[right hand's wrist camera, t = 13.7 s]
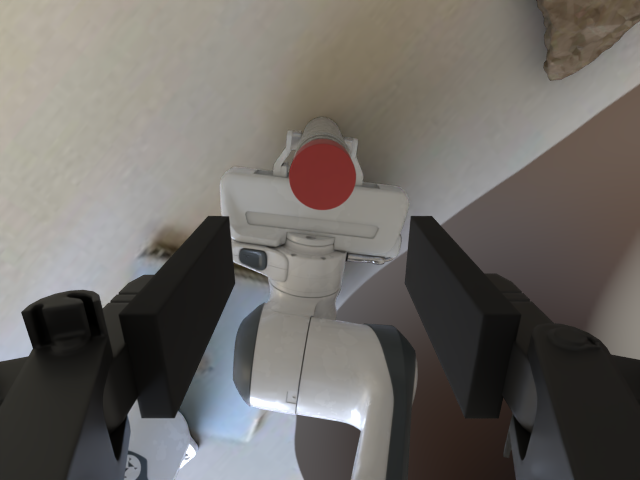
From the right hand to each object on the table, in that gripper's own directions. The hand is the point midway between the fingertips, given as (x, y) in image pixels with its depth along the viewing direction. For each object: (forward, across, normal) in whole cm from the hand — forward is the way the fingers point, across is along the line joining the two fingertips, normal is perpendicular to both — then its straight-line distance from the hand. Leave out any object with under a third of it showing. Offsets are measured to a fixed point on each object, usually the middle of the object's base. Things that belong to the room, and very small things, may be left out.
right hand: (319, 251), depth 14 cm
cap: (+11, 0, 0) cm, 11 cm away
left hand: (+27, 0, -2) cm, 28 cm away
